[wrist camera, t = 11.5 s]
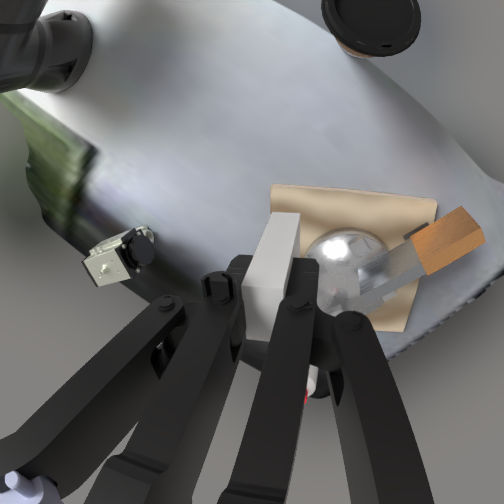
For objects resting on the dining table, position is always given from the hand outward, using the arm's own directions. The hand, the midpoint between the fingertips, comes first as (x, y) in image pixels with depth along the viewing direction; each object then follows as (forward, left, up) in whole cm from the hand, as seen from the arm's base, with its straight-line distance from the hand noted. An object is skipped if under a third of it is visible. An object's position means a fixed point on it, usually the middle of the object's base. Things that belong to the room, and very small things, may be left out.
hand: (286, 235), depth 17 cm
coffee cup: (-15, +6, -24) cm, 29 cm away
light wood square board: (+16, +6, -24) cm, 29 cm away
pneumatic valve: (+14, -27, -24) cm, 39 cm away
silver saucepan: (+12, +10, -22) cm, 27 cm away
